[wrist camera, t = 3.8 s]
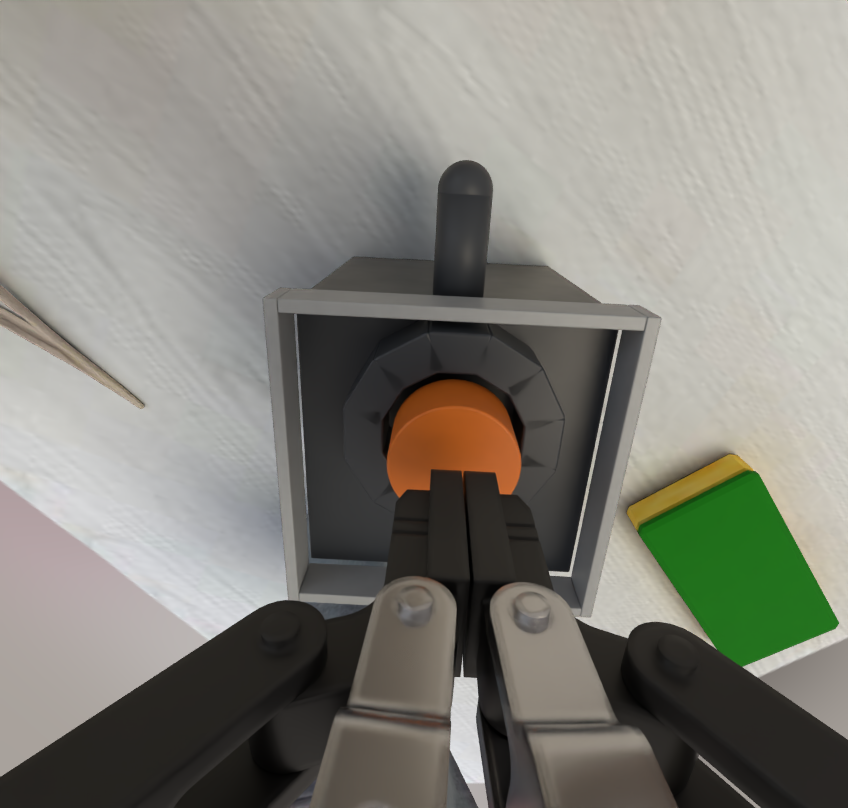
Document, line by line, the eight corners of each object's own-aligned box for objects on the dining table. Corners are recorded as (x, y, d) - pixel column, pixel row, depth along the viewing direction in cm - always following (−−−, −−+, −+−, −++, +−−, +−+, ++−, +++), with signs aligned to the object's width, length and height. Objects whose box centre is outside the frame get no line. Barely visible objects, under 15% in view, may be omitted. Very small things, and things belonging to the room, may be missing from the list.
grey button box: (355, 431, 29) (296, 597, 17) (352, 256, 25) (275, 314, 13) (524, 440, 29) (583, 613, 17) (548, 266, 25) (647, 333, 13)
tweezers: (-173, 209, 25) (-218, 212, 23) (-137, 134, 24) (-182, 132, 22) (134, 421, 31) (117, 437, 29) (177, 371, 29) (162, 385, 28)
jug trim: (338, 464, 26) (287, 601, 18) (329, 163, 21) (248, 143, 12) (540, 475, 26) (591, 618, 18) (588, 176, 21) (699, 164, 12)
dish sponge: (733, 449, 29) (758, 471, 27) (815, 598, 33) (842, 628, 31) (623, 507, 31) (637, 532, 29) (713, 642, 35) (732, 672, 33)
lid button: (392, 481, 16) (385, 520, 14) (393, 375, 14) (387, 402, 12) (504, 487, 16) (513, 527, 14) (517, 381, 14) (530, 409, 12)
